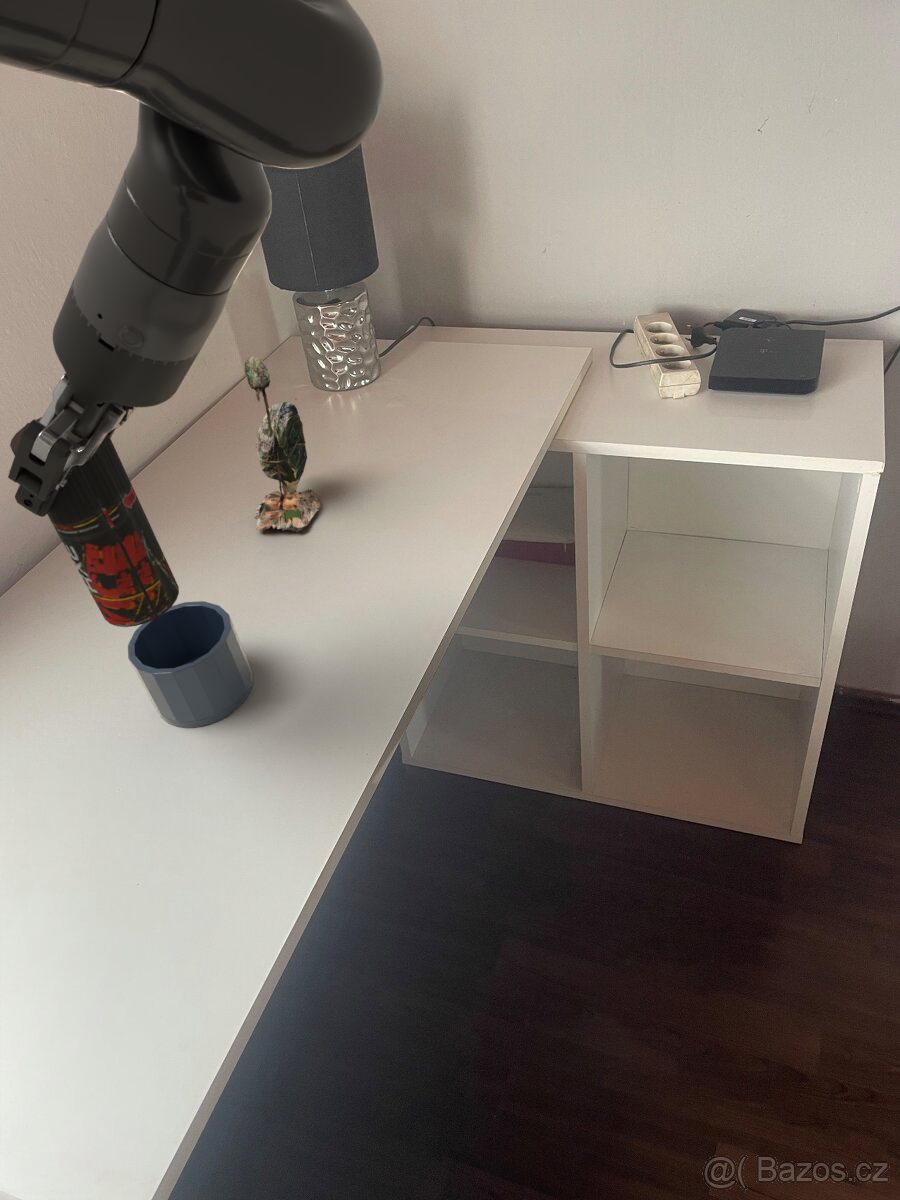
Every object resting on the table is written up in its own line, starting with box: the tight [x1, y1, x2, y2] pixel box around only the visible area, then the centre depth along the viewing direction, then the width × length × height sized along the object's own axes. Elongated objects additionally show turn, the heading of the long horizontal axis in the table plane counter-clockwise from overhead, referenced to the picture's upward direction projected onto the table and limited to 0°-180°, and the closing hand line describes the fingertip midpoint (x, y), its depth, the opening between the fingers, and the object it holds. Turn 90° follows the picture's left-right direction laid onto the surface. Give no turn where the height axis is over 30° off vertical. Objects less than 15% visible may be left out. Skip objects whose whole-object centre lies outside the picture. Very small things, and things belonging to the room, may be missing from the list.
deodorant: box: [9, 416, 180, 628], centre depth 62 cm, size 6×6×15 cm
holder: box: [127, 600, 254, 729], centre depth 78 cm, size 9×9×7 cm
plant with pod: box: [244, 356, 321, 533], centre depth 94 cm, size 8×11×20 cm
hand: (58, 478), depth 60 cm, fingers closed on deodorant, 6 cm apart
